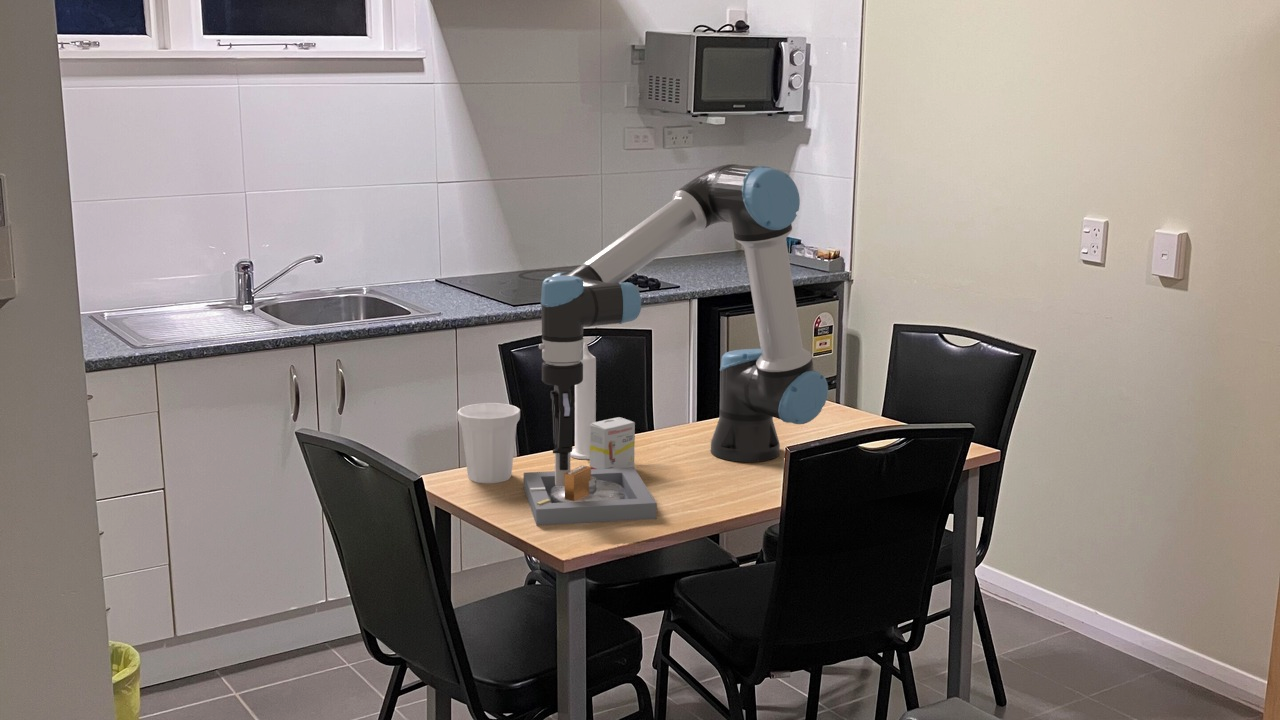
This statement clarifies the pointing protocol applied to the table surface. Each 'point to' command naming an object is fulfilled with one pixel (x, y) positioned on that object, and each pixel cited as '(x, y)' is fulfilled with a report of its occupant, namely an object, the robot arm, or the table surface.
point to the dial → (585, 488)
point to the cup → (489, 440)
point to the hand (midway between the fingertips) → (562, 484)
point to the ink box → (612, 444)
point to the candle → (585, 406)
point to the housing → (631, 508)
